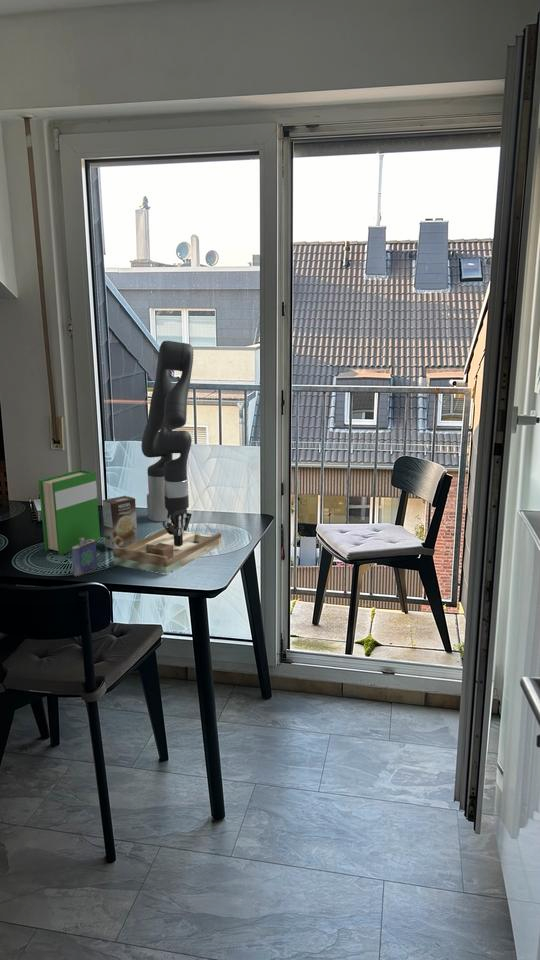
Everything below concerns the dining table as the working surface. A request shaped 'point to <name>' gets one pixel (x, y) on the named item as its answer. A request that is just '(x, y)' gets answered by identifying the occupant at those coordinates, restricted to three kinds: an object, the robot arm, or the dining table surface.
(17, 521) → the dining table surface
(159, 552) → the walnut block
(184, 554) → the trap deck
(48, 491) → the hardback book
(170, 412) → the robot arm
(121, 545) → the coffee box
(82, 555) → the flask
